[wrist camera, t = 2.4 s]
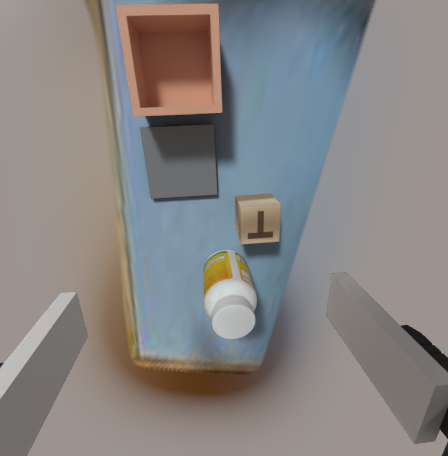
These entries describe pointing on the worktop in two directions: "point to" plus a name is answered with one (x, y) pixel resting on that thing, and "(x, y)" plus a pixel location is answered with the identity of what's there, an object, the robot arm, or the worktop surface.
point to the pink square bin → (172, 58)
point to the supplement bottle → (229, 294)
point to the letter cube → (257, 218)
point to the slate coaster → (180, 160)
